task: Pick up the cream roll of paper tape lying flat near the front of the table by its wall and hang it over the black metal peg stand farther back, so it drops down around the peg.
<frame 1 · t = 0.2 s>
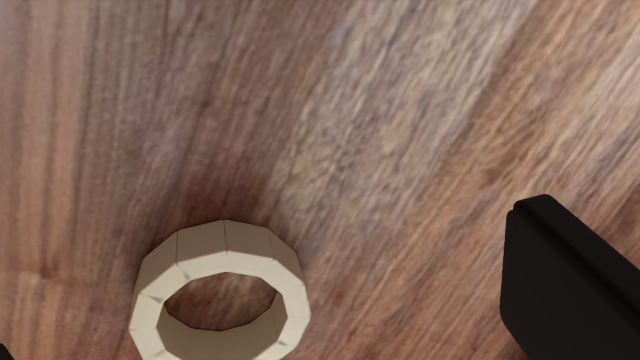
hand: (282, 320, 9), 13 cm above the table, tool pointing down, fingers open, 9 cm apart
tape roll: (221, 287, 26), on the table
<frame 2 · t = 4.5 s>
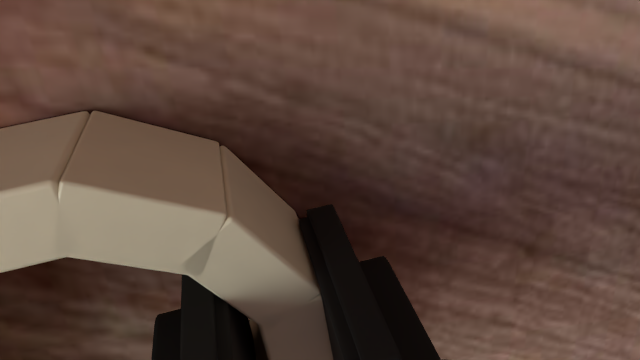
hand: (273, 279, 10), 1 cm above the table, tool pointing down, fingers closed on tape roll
tape roll: (112, 302, 10), on the table, touching gripper
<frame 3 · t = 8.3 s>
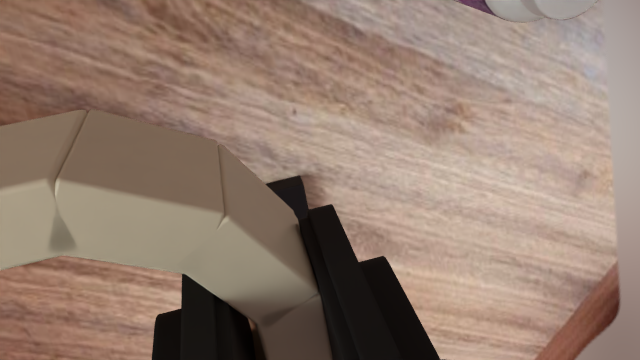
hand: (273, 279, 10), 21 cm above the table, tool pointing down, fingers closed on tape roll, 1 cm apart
peg stand: (250, 242, 36), on the table
tape roll: (109, 301, 10), point 21 cm above the table, touching gripper
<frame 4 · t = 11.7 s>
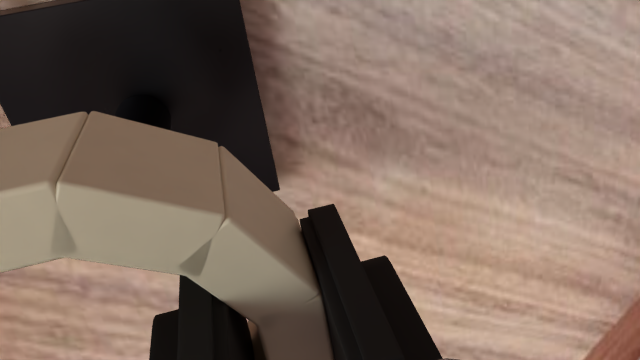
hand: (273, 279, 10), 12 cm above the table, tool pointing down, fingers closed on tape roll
peg stand: (146, 108, 20), on the table
tape roll: (110, 303, 10), point 11 cm above the table, touching gripper
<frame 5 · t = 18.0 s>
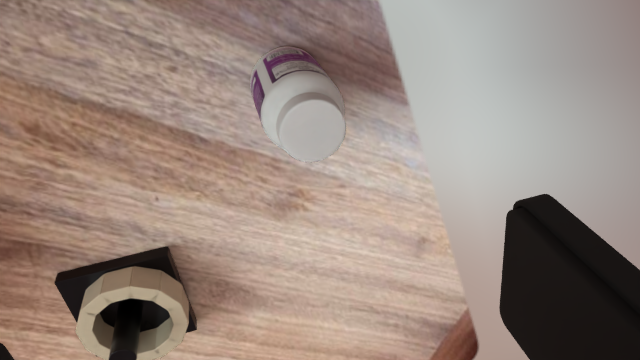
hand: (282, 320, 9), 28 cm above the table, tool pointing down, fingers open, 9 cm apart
peg stand: (131, 298, 43), on the table
pill bottle: (285, 79, 37), on the table
tape roll: (136, 305, 42), point 1 cm above the table, touching peg stand
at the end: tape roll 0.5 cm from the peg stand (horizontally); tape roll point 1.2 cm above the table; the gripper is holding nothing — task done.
